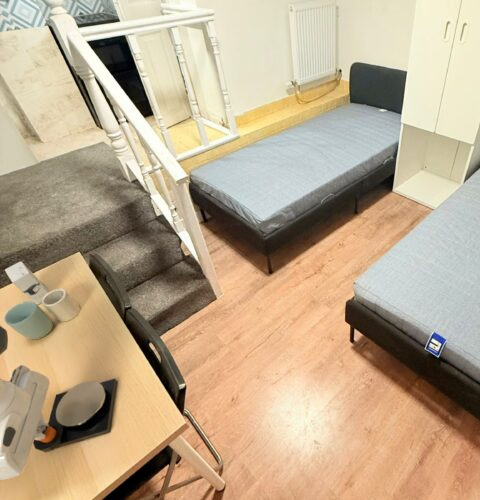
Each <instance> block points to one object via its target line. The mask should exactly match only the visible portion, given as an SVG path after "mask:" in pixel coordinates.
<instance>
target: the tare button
mask: <svg viewBox="0 0 480 500" xmlns="http://www.w3.org/2000/svg"><path fill="white" fill-rule="evenodd" d="M56 433H57V432H56V429H54V428H52V427H50V426H48V429H47V432H46V437H45V438H44V439H41V440H39V441H41V442H43V443H48V442H50V441H51V440H53V439H54V437H55V436H56Z"/></svg>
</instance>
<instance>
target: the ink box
mask: <svg viewBox="0 0 480 500" xmlns="http://www.w3.org/2000/svg"><path fill="white" fill-rule="evenodd" d="M4 271H5V273H6V275H7V276H8V278H9V280H10V281H11V283H12V284H14V286H16V287H17V288H18V289H19V291H21V292H22V293H23V294H24V295H25V296H26V297H27V298H28V299H29V300H31V302H34V303H35V304H37V305H38V306H39V305H40V304H42V302H41V301H42V299H43V297H44V296H45V295H46V294H48V293H49V292H50V291H49V290H48V288H47V287H46V286H45V284H44V283H43V282H42V281H41V280H40V279H39V278H38V277H37V276H36V275H35V274H34V273H33V272H32V271H31V270H30V268H28V266H26V265H25V263H24V262H23V261H21V260H20V261H19V262H16V263H13V265H10V266H9V267H7V268H5V269H4Z"/></svg>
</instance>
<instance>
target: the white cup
mask: <svg viewBox="0 0 480 500" xmlns="http://www.w3.org/2000/svg"><path fill="white" fill-rule="evenodd" d="M41 302H42V303H41V305H42V306H43V307H44V308H45V309H46V310H47V311H48V312H49V313H50V314H51V315H52V316H53V317H54V318H56V319H57V320H58V321H59V322H68V321H71V320H73V319H74V318H75V317H76V316H78V314H79V313H80V312H81V307H80V305H79V304H78V303H77V302H76V300H75V299H73V297H72V296H71V295H70V294H69V292H67V291H66V289H63V288H56V289H53V290H51V291H49V293H48V294H46V295H45V296H44V297H43V299H42V301H41Z"/></svg>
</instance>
